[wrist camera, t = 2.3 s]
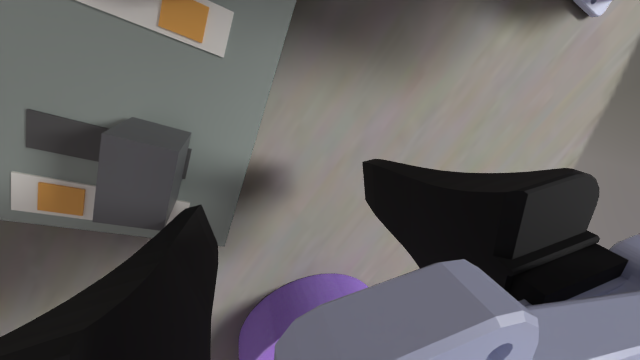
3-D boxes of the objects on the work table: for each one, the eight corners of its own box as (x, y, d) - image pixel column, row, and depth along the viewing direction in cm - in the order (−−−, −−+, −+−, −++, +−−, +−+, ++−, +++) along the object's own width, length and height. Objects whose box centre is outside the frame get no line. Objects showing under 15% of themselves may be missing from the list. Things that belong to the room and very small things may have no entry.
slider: (191, 132, 10) (179, 151, 8) (177, 198, 11) (163, 231, 9) (132, 117, 10) (101, 133, 7) (122, 188, 10) (92, 222, 8)
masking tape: (382, 336, 25) (404, 378, 22) (267, 390, 24) (272, 445, 20) (363, 249, 20) (388, 287, 17) (212, 311, 18) (207, 368, 15)
